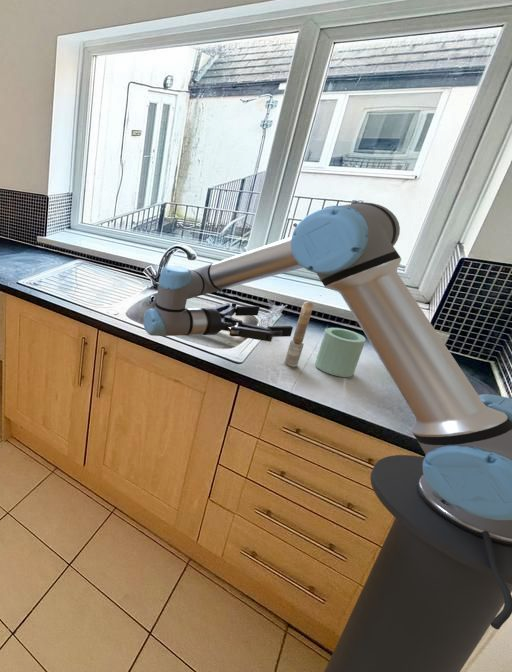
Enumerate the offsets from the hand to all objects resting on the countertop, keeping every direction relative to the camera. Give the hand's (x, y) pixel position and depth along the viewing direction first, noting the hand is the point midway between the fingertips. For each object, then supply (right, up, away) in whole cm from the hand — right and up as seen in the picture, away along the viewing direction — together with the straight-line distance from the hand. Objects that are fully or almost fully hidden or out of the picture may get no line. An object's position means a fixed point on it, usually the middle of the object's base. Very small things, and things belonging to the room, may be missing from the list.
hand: (273, 320), depth 118 cm
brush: (+9, -13, +6) cm, 17 cm away
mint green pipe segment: (+20, -14, +3) cm, 25 cm away
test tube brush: (+17, -5, +28) cm, 33 cm away
